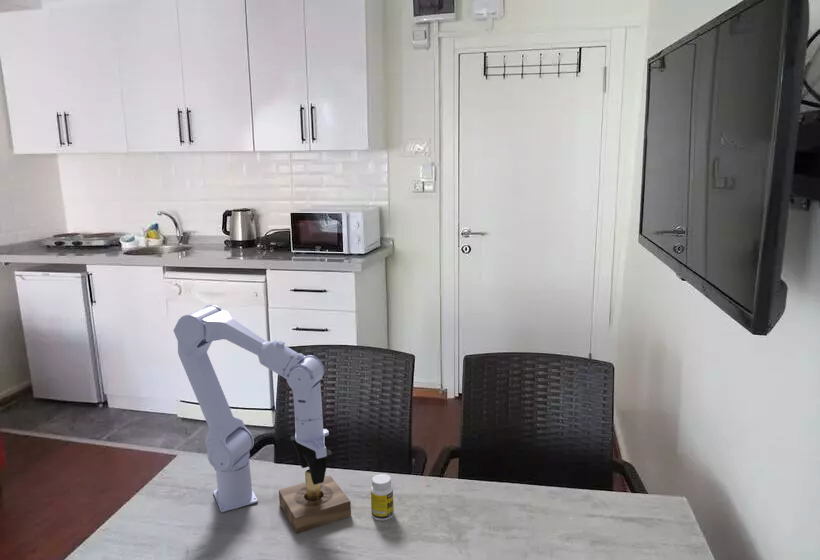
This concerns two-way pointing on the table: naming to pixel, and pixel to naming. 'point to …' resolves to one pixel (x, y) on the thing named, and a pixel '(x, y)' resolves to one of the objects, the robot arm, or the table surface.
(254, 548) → the table surface
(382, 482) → the supplement bottle
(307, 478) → the brass peg
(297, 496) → the socket block
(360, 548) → the table surface
